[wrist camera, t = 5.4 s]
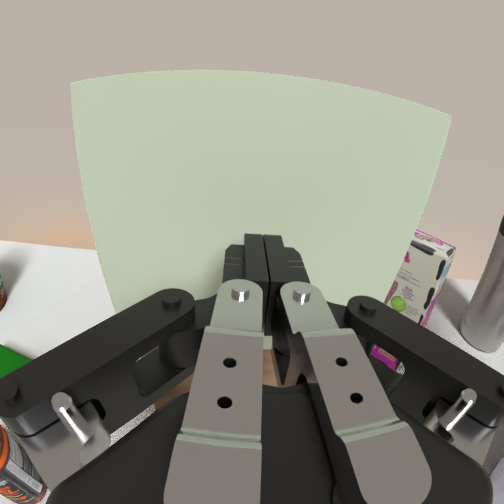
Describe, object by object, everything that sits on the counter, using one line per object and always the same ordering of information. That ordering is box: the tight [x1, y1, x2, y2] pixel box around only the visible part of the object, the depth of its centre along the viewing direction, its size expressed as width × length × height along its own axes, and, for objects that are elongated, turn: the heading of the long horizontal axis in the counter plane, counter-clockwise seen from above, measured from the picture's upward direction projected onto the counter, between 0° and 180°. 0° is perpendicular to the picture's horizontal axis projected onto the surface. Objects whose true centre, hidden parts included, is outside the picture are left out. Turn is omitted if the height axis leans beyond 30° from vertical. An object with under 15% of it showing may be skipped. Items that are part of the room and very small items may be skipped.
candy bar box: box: [370, 230, 456, 372], centre depth 33 cm, size 11×5×16 cm, turn 38°
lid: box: [71, 70, 452, 349], centre depth 15 cm, size 17×17×1 cm
